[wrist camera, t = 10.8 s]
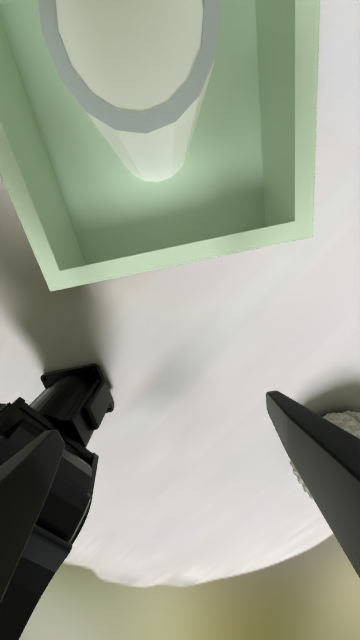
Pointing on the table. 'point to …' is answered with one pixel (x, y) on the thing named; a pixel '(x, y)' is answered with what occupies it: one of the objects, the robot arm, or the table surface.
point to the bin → (200, 163)
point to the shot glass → (136, 72)
